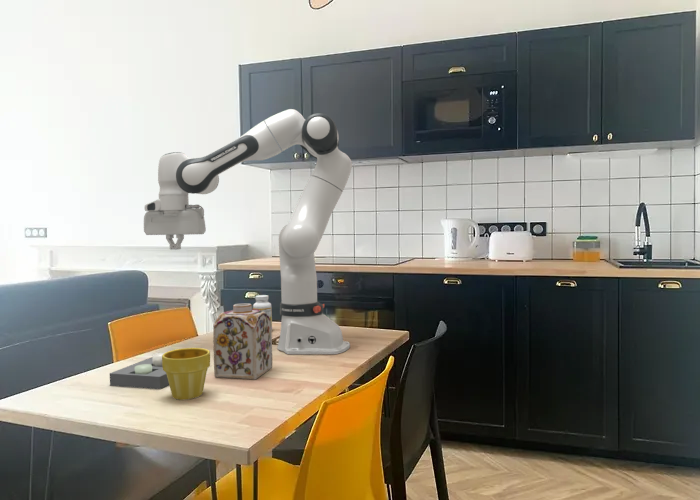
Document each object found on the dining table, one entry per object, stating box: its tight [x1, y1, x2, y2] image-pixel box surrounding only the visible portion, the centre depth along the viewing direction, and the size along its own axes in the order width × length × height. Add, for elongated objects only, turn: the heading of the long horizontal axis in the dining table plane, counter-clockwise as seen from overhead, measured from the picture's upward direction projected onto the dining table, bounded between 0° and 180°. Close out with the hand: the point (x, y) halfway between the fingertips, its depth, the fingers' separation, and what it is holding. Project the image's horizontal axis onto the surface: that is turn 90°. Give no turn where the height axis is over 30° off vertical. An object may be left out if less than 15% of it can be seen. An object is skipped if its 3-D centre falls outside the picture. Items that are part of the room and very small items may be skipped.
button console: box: [109, 356, 169, 390], centre depth 140 cm, size 14×21×3 cm, turn 164°
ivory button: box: [151, 352, 165, 367], centre depth 140 cm, size 4×4×3 cm
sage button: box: [135, 364, 152, 375], centre depth 133 cm, size 4×4×3 cm
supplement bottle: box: [252, 294, 273, 331], centre depth 196 cm, size 7×7×13 cm
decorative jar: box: [212, 303, 273, 381], centre depth 141 cm, size 12×12×18 cm
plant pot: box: [162, 347, 211, 401], centre depth 123 cm, size 10×10×10 cm
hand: (175, 249), depth 170 cm, fingers closed
